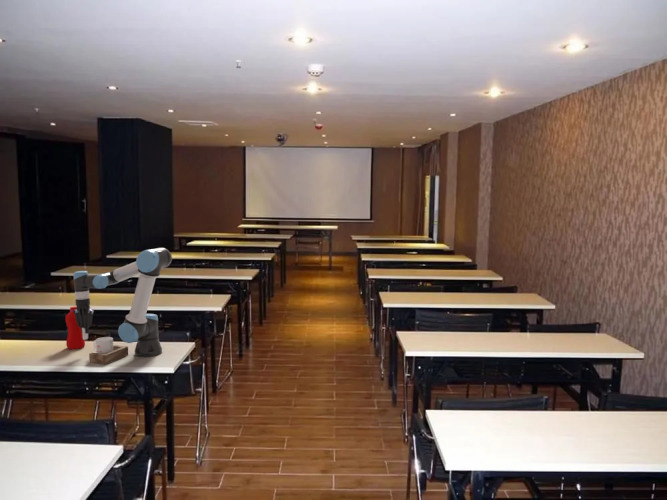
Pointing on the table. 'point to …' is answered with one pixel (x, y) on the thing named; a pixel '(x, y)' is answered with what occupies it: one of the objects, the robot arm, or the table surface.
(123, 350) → the dock
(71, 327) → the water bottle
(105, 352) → the mug
